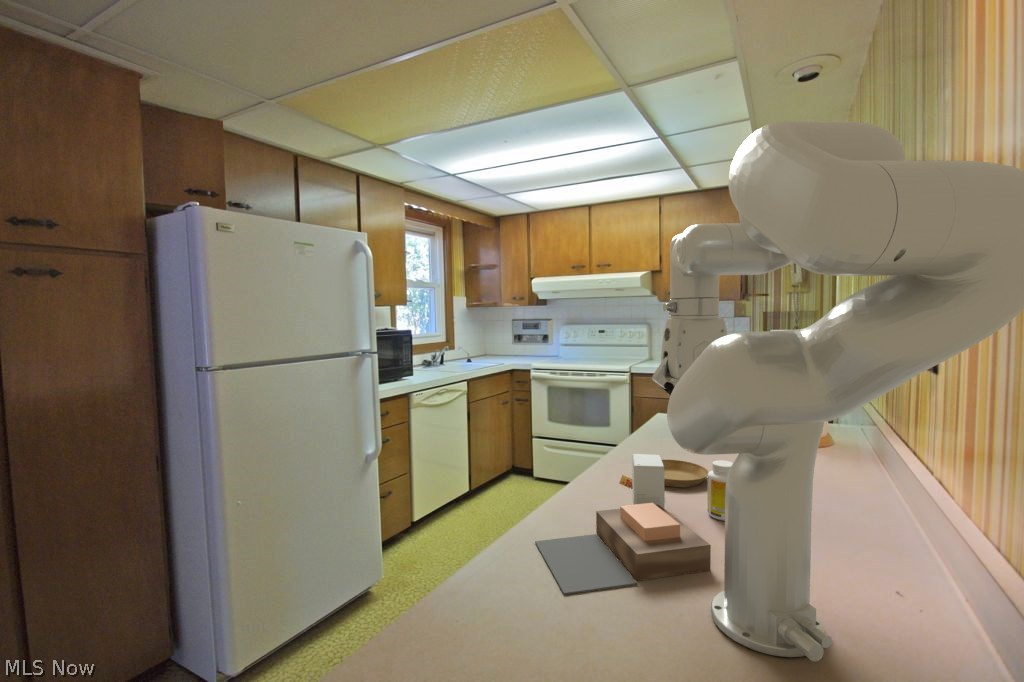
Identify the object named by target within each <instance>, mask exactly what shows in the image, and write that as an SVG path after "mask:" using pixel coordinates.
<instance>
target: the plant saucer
mask: <svg viewBox="0 0 1024 682" xmlns="http://www.w3.org/2000/svg"><path fill="white" fill-rule="evenodd" d="M662 462H663V465H664V486H665V485H666V487H671V486H672V487H673V488H690V486H691V487H695V486H697V485H699V484H701V483H702V482H704V480H705V479H706V478H708V473H709V472H710V471H709V470H708V469H707V468H706V467H704V466H702V465H700V464H696V463H693V462H690V461H686V460H679V459H662Z"/></svg>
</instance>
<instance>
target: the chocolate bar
mask: <svg viewBox="0 0 1024 682" xmlns="http://www.w3.org/2000/svg"><path fill="white" fill-rule="evenodd" d="M618 484H620V485H622V486H624V487H627V488H628V489H630V488H631V489H630V490H632V489H633V482H632V478H631V477H629V476H626V475H623V474H622V475H621V477H620V480H619V483H618Z"/></svg>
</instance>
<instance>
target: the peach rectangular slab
mask: <svg viewBox="0 0 1024 682" xmlns="http://www.w3.org/2000/svg"><path fill="white" fill-rule="evenodd" d="M619 509H620V518H621V519H623V520H624V521H625V522H626V523H627V524H628V525H629V526H630V527H631V528H632V529H633V530H634V531H635V532H636V533H637V534H638V535H639V536H640V537H641V538H642V539H643V540H644V541H649V540H657V539H666V538H674V537H680V524H679V523H678V522H677V521H675V520H674V519H673V518H672V517H670V516H669V515H668V514H666V513H665V512H664V511H663V510H661V509H660V508H659V507H657V506H656V505H655V504H654V503H644V504H635V505H633V504H625V505H620V506H619Z"/></svg>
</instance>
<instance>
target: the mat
mask: <svg viewBox="0 0 1024 682" xmlns="http://www.w3.org/2000/svg"><path fill="white" fill-rule="evenodd" d="M535 545H536V547H537V549H538V551H539V552H540V554H541V556H542V557H543V559H544V561H545V563H546V565H547V567H548V569H549V570H550V572H551V574H552V576H553V578H554V580H555V581H556V583H557V585H558V587H559V588H560V590H561V592H562V594H563V596H567V595H568V596H569V595H573V594H581V593H590V592H595V591H596V590H597V591H602V590H611V589H618V588H623V587H624V588H625V587H630V586H637V585H638V582H637V580H636V579H635V578H634V576H633V575H632V574H631V573H630V572H629V571H628V569H627V568H626V567H625V566H624V565H623V564H622V562H621V561H620V560H619V559H618V558H617V557H616V555H615V554H614V553H613V552H612V551H611V550H610V548H609V547H608V546H607V545H606V544H605V543H604V541H603V540H602V539H601V538H600V537H599V535H598V534H597V533H595V534H594V533H593V534H587V535H585V534H584V535H579V536H578V535H576V536H570V537H569V536H568V537H560V538H551V539H543V540H536V541H535ZM610 588H611V589H610ZM597 591H596V592H597Z"/></svg>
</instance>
